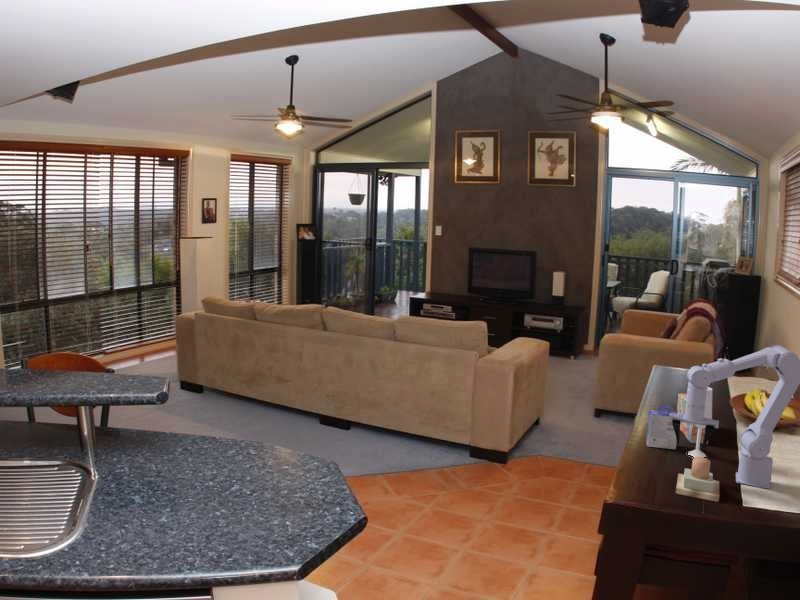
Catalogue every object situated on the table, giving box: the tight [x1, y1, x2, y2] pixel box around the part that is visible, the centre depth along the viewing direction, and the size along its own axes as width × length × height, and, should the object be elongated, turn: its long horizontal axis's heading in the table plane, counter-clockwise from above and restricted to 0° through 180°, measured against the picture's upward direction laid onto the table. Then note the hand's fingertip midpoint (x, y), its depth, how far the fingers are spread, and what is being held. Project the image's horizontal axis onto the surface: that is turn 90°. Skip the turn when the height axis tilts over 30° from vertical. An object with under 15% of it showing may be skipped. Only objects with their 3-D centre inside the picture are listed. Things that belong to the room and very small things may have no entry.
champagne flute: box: [687, 386, 713, 458], centre depth 249 cm, size 7×7×24 cm
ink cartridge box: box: [645, 404, 678, 450], centre depth 257 cm, size 10×6×14 cm, turn 79°
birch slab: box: [675, 473, 720, 503], centre depth 223 cm, size 12×12×2 cm
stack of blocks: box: [676, 393, 709, 445], centre depth 271 cm, size 21×6×12 cm, turn 174°
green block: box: [683, 467, 714, 493], centre depth 222 cm, size 8×8×3 cm
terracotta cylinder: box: [691, 457, 711, 479], centre depth 222 cm, size 5×5×5 cm
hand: (690, 445), depth 231 cm, fingers open, 7 cm apart
